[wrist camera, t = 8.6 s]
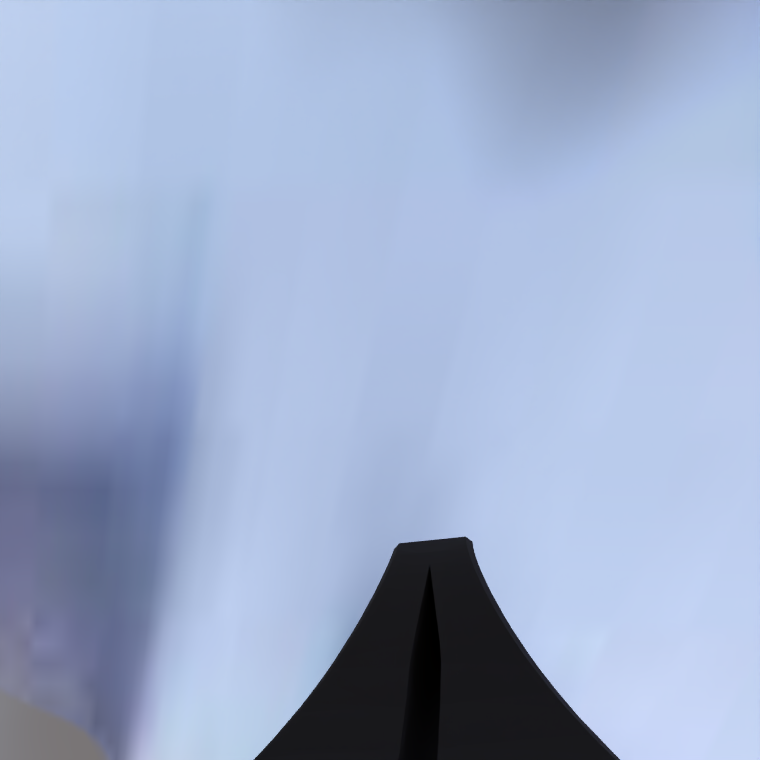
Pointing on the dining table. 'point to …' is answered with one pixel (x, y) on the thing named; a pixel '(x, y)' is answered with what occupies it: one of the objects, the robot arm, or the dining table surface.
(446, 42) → the dining table surface
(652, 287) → the dining table surface
